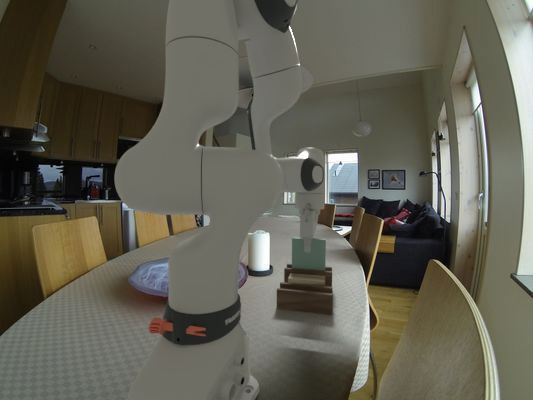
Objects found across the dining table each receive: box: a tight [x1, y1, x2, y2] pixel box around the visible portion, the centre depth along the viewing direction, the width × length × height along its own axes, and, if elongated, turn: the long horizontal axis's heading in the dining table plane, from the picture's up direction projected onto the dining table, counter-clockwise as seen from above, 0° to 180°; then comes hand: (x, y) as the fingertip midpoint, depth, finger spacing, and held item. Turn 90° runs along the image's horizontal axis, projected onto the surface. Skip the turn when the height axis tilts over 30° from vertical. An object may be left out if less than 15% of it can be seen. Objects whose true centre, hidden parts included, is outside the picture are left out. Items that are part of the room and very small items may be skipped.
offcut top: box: [288, 273, 325, 286], centre depth 73 cm, size 4×10×2 cm, turn 76°
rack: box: [276, 263, 334, 316], centre depth 73 cm, size 17×14×8 cm
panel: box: [291, 236, 327, 271], centre depth 78 cm, size 2×10×16 cm, turn 76°
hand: (308, 248), depth 78 cm, fingers open, 8 cm apart
